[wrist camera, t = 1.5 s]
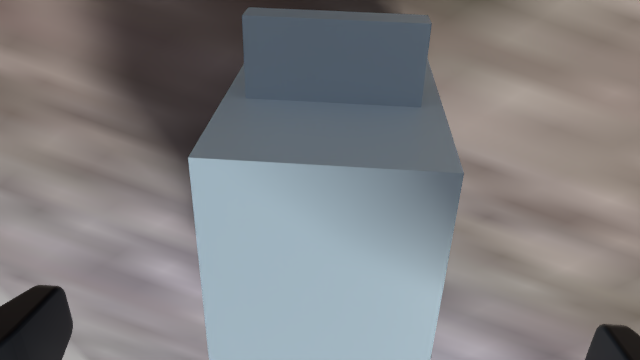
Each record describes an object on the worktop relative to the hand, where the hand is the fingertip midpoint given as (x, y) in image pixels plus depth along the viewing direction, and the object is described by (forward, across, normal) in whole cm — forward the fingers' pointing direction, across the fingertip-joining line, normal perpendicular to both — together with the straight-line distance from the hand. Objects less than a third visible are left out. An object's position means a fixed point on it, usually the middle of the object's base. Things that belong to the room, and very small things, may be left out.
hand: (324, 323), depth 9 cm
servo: (+6, 0, 0) cm, 6 cm away
